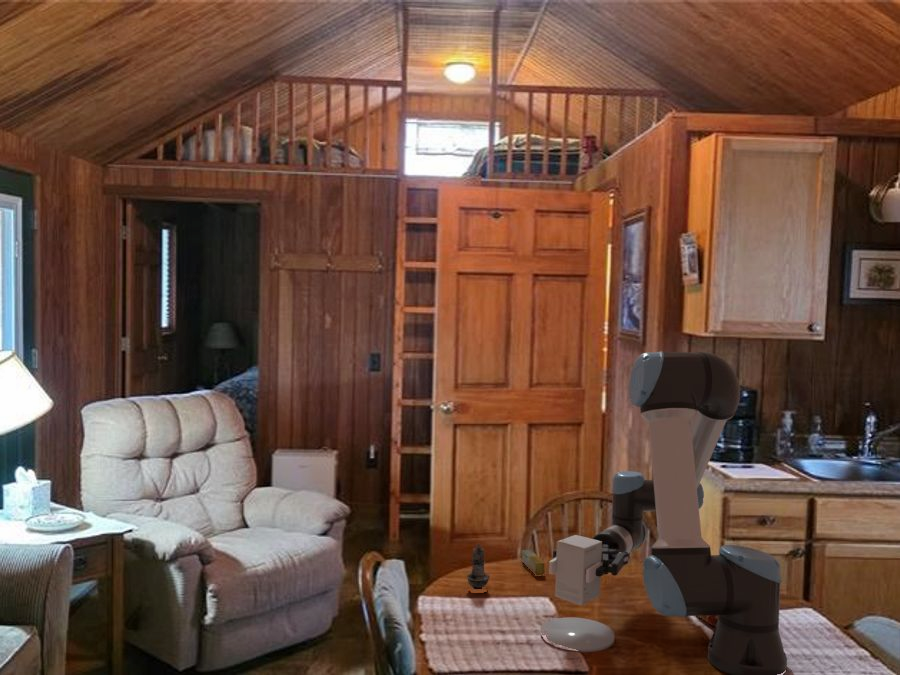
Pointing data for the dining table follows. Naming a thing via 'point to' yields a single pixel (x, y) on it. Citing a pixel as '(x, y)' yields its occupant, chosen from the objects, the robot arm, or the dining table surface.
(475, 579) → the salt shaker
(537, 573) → the medication box
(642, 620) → the dining table surface
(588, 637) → the plate
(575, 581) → the supplement box
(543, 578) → the dining table surface
